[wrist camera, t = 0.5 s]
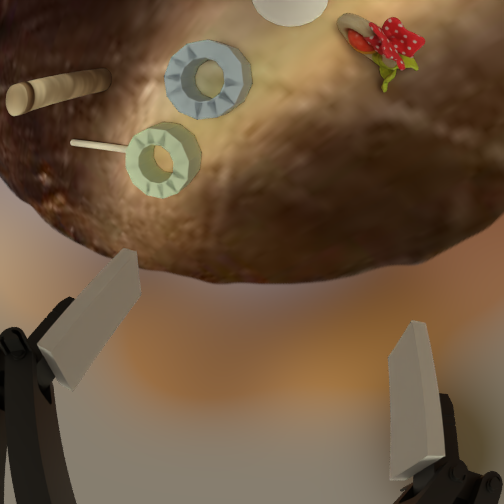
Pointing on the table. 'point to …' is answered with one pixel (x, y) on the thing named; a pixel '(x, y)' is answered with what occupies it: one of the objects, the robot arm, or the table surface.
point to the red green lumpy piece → (382, 43)
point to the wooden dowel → (55, 89)
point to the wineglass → (290, 11)
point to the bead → (144, 164)
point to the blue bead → (184, 86)
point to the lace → (99, 145)
